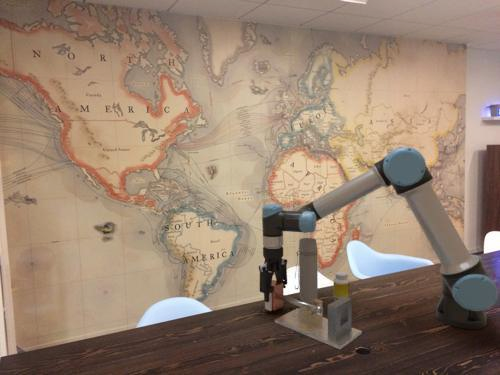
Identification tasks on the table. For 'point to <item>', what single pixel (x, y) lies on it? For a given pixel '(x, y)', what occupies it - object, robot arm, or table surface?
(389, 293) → the table surface
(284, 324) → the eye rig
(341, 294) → the pill bottle
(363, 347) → the table surface
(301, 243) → the water bottle
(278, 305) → the mallet
